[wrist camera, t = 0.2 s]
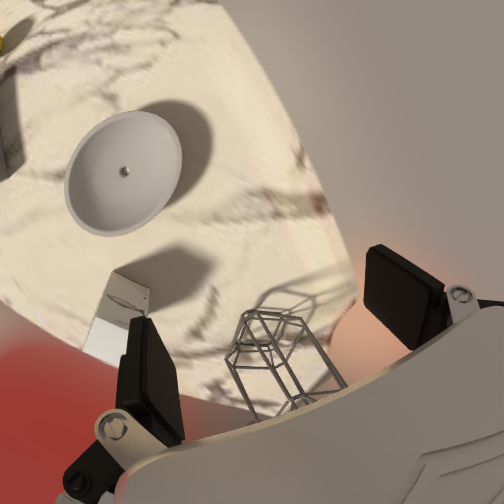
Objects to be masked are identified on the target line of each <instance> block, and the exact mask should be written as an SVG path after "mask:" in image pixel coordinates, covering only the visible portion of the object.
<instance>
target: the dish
mask: <svg viewBox="0 0 504 504" xmlns="http://www.w3.org/2000/svg"><path fill="white" fill-rule="evenodd" d="M182 160H183V158H182V147H181V143H180V140H179V137H178V135H177V133H176V131H175V130H174V128H173V127H172V126H171V125H170V123H168V122H167V121H166V120H165V119H163V118H162V117H160V116H158V115H156V114H153V113H150V112H146V111H129V112H124V113H120V114H117V115H114V116H112V117H110V118H108V119H106V120H104V121H102V122H101V123H99V124H98V125H97V126H95V127H94V128H93V129H92V130H91V131H90V132H89V133H88V134H87V135H86V136H85V137H84V138H83V139H82V140H81V142H80V143H79V144H78V146H77V147H76V149H75V151H74V153H73V154H72V156H71V159H70V161H69V164H68V167H67V170H66V174H65V181H64V194H65V201H66V205H67V208H68V210H69V212H70V214H71V216H72V218H73V219H74V220H75V222H76V223H77V224H78V225H79V226H80V227H81V228H83V229H84V230H86V231H87V232H89V233H91V234H94V235H97V236H103V237H115V236H121V235H125V234H128V233H130V232H133V231H135V230H137V229H139V228H141V227H142V226H144V225H145V224H147V223H148V222H149V221H151V220H152V219H153V218H154V217H155V216H156V215H157V214H158V213H159V212H160V211H161V210H162V209H163V208H164V206H165V205H166V204H167V202H168V201H169V199H170V198H171V196H172V194H173V192H174V190H175V188H176V186H177V183H178V181H179V178H180V174H181V169H182ZM124 167H127V168H129V174H127V175H124V174H123V173H122V169H123V168H124Z"/></svg>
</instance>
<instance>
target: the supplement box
mask: <svg viewBox="0 0 504 504" xmlns="http://www.w3.org/2000/svg"><path fill="white" fill-rule="evenodd" d="M149 298H150V289H148V288H146V287H143V286H141V285H139V284H137V283H134V282H132V281H130V280H129V279H127V278H125V277H123V276H121V275H119V274H117V273H115V272H114V271H112V272H111V274H110V277H109V279H108V281H107V283H106V286H105V288H104V290H103V293H102V295H101V298H100V300H99V303H98V306H97V308H96V311H95V314H94V317H93V320H92V322H91V325H90V328H89V331H88V335H87V338H86V340H85V343H84V346H83V349H82V351H83V352H85V353H87V354H89V355H92V356H94V357H96V358H99V359H101V360H104V361H106V362H108V363H111V364H113V365H116V366H119V363H120V357H121V355H123V354H126V348H127V339H128V332H129V325H130V319H131V318H135V317H139V316H143V315H144V316H145V317H146V318H148V308H149Z"/></svg>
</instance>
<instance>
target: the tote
mask: <svg viewBox="0 0 504 504" xmlns="http://www.w3.org/2000/svg"><path fill="white" fill-rule="evenodd" d="M8 178H9V175H8V171H7V166H6V161H5V156H4V151H3V145H2V139H1V132H0V183H1V182H3V181H5V180H6V179H8Z"/></svg>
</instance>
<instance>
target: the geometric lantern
mask: <svg viewBox="0 0 504 504" xmlns="http://www.w3.org/2000/svg"><path fill="white" fill-rule="evenodd" d="M246 313H247V314H248V316H247V317H244V315H245V314H246ZM249 313H251V314H249ZM255 314H256V315H257V317H258V318H255V317H253V316H254V315H255ZM260 314H262V315H268V316H275V317H280V319H274V318H262V317H261V315H260ZM242 318H243V320H242ZM283 318H289V319H283ZM250 319H255V320H260V322H261V324H262V326H263V327H264V329H265V331H266V333H267V335H268V336H269V338H270V340H271V342H270V343H269V344H267V345H259V344H258V342H257V340H256V339H255V337H254V335H253V334H252V332H251V330H250V329H249V327H248V325H247V321H249V320H250ZM264 320H275V321H279V323H278V326H277V328H276V330H275V333H274V335H273V336H272V335H271V333H270V331H269V329H268V328H267V326H266V324H265V322H264ZM291 320H300V322H301V323H302V325H299V324H295V323H290V322H286V321H291ZM281 321H283V322H284V324H283V326H282V329H281V331H280V334H279V336H278V339H277V341H276V342H275V340H274V337H275V335H276V333H277V330H278V328H279V326H280V323H281ZM285 324H290V325H295V326H299V327H303V328H302V330H301V332H300V333H299V335H298V337H297V339H296V341H295V343H294V345H293V346H292V348H291V350H290V352H289V354H288V355H287V357H286V359H285V357H284V355H283V354H282V352H281V350H280V349H279V347H278V345H277V344H278V341H279V339H280V336H281V334H282V331H283V329H284V326H285ZM243 325H244V327H243V330H242V333H241V336H240V339H239V342H238V344H237V343H236V340H237V337H238V335H239V333H240V331H241V329H242V326H243ZM245 329H246V330H247V332H248V334H249V335H250V337H251V339H252V340H253V342H254V344H255V345H245V344H240V342H241V339H242V336H243V333H244V330H245ZM304 330H305V331H306V332H307V334H308V336H309V337H310V339H311V341H312V342H313V344H314V346H315V347H316V349H317V351H318V352H319V354H320V355H321V357H322V359H323V360H324V362H325V364H326V365H327V367H328V369H329V370H330V372H331V374H332V375H333V377H334V379H335V380H336V382H337V384H338V385H339V387H340V390H332V391H323V392H313V393H305V392H304V390H303V388H302V387H301V385H300V383H299V381H298V380H297V378H296V376H295V374H294V373H293V371H292V369H291V368H290V366H289V364H288V362H287V361H288V359H289V357H290V355H291V354H292V352H293V350H294V348H295V347H296V345H297V343H298V341H299V339H300V337H301V336H302V334H303V332H304ZM270 344H272V346H273V349H271V350H270V348H269V345H270ZM234 345H235V347H236V349H235V350H234V351H233V352H232V353H231V350H232V348H233V346H234ZM239 346H251V347H257V349H258V350H251V351H241V350H240V347H239ZM261 347H267V348H268V350H262V349H261ZM236 350H237V351H238V353H237V356H236V359H235V361H234V364H233V365H232V364H231V363H230V362H229V361H228V358H229V357H230V356H231V355H232V354H233V353H234V352H235V351H236ZM273 350H274V351H275V352H276V353H277V354H278V356H279V357H280V358H281V360H282V363H280V364H278V365H277V366H274V363H273V358H272V352H271V351H273ZM241 352H260V354H261V356H262V357H263V359H264V361H265V362H266V364H267V366H268V367H252V366H235V364H236V362H237V359H238V356H239V354H240V353H241ZM264 352H270V357H271V362H272V365H271V363H270V362H269V360H268V358H267V357H266V355H265V353H264ZM224 360H225V362H226V364H227V366H228V368H229V370H230V372H231V374H232V376H233V378H234V380H235V382H236V384H237V386H238V388H239V390H240V392H241V394H242V396H243V398H244V400H245V402H246V404H247V406H248V408H249V410H250V411H251V413H252V415H253V417H254V419H255V421H256V423H259V422H260V420H259V418H258V416H257V414H256V412H255V410H254V408H253V406H252V404H251V402H250V399H249V397H248V395H247V393H246V391H245V389H244V386H243V384H242V382H241V380H240V378H239V375H238V373H237V371H236V369H267V370H270V371H271V372H272V374H273V376H274V377H275V379H276V381H277V382H278V384H279V386H280V387H281V389H282V391H283V392H284V394H285V395H286V397H287V399H288V400H289V401H290V402H291V403H292V404H291V411H293V407H294V409H295V410H296V409H298V408H297V406H296V404H295V402H294V400H296V399H299V398H301V397H302V398H303V400H304V402H305V404H306V405H309V404H308V401H310V402H312V403H314V402H316V401H317V400H315V399H313V398H310V397H308V396H310V395H320V394H328V393H336V392H339V391H341V390H343V389H345V388H347V387H348V385H347V384H346V383H345V381H344V380H343V378H342V376H341V375H340V374H339V372H338V371H337V369H336V368H335V366H334V365H333V363H332V362H331V360H330V359H329V357H328V356H327V354H326V353H325V351H324V350H323V349H322V347H321V346H320V344H319V343H318V341H317V340H316V338H315V337H314V335H313V334H312V332H311V331H310V329H309V328H308V326H307V325H306V324H305V322H304V320H303V319H302V318H301V317H296V316H289V315H282V314H279V313H269V312H263V311H246V312H244V313H243V314H242V315H241V318H240V321H239V324H238V327H237V330H236V333H235V336H234V339H233V341H232V343H231V345H230V348H229V350H228V352H227V354H226V356H225V359H224ZM282 365H285V367H286V369H287V370H288V372H289V374H290V376H291V377H292V379H293V381H294V383H295V385H296V387H297V389H298V391H299V393H300V394H298V395H295V396H293V397H291V395H290V394H289V392H288V390H287V389H286V387H285V385H284V383H283V382H282V380H281V378H280V376H279V375H278V373H277V371H276V368H278V367H280V366H282ZM232 369H233V370H232ZM233 371H234V372H233ZM234 373H235V374H234ZM341 383H342V384H341ZM343 386H344V387H343ZM307 400H308V401H307ZM289 401H286V402H285V404H284V405H283V407H282V408H281V409H280V411H279V412H278V413H277V415H276V416H275V417H277V416H279V415H280V414H281V413H282V411H283V410H284V409H285V407H286V406H287V405H288V403H289ZM291 411H290V412H291ZM275 417H274V418H275Z"/></svg>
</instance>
